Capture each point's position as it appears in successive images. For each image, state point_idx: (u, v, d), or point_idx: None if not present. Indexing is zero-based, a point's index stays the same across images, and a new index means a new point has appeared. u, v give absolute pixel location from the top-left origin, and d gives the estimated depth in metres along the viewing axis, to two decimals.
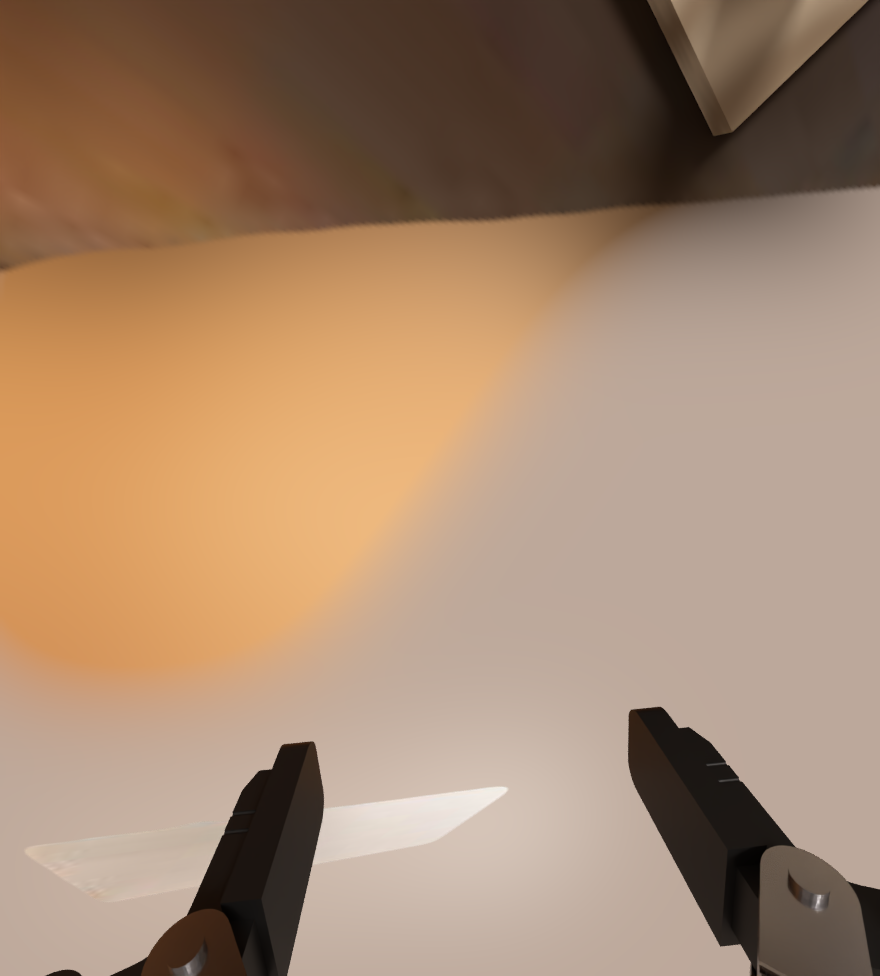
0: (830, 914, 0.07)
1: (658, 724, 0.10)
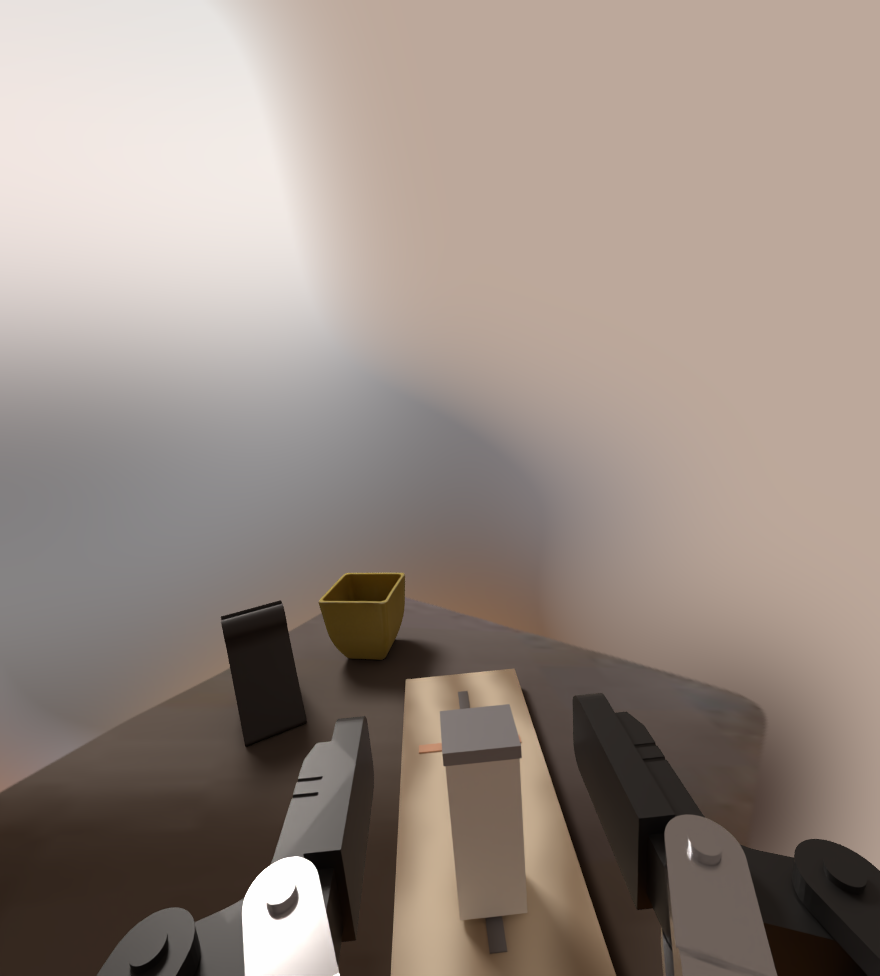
0: (718, 873, 0.07)
1: (596, 708, 0.11)
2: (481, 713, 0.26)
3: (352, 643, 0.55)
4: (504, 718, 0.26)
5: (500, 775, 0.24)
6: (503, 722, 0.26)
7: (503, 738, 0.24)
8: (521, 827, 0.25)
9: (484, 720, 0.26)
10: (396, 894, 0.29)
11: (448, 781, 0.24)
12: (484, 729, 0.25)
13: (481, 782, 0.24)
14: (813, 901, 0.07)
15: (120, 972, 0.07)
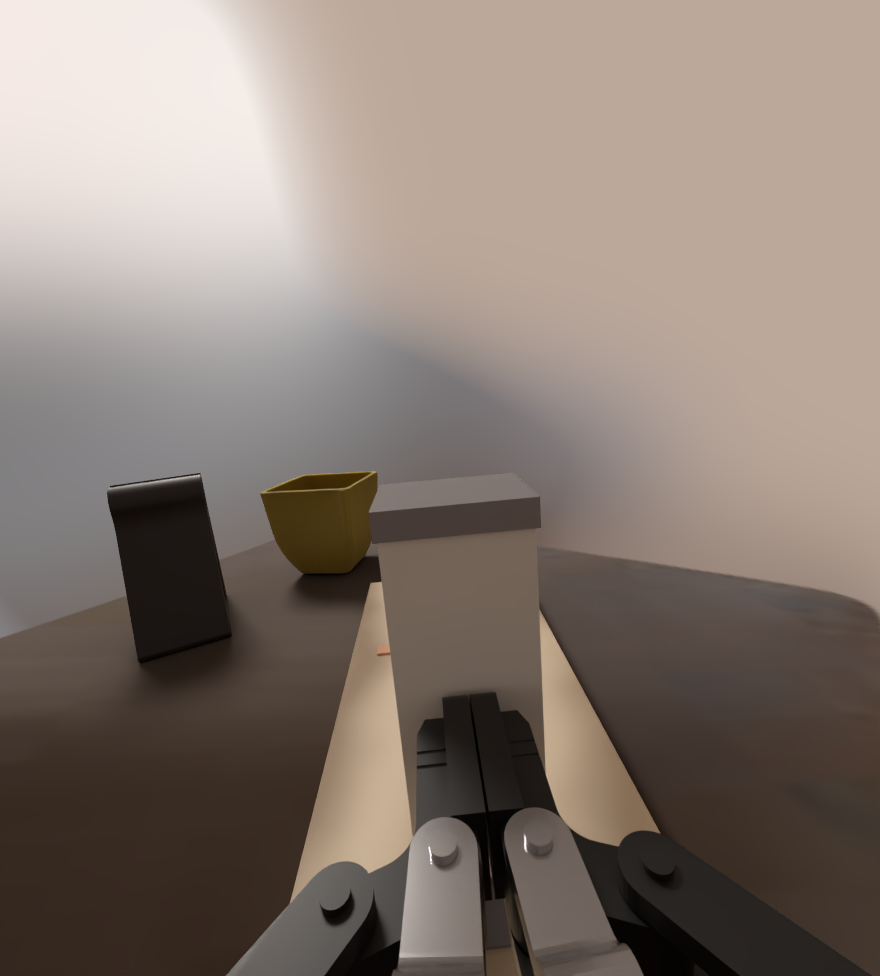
0: (543, 862, 0.08)
1: (484, 707, 0.11)
2: (458, 481, 0.14)
3: (305, 550, 0.43)
4: (503, 481, 0.13)
5: (495, 570, 0.12)
6: (501, 483, 0.13)
7: (501, 494, 0.12)
8: (539, 690, 0.12)
9: (463, 485, 0.13)
10: (307, 844, 0.16)
11: (385, 582, 0.11)
12: (463, 490, 0.12)
13: (456, 587, 0.12)
14: (641, 905, 0.07)
15: (312, 904, 0.07)
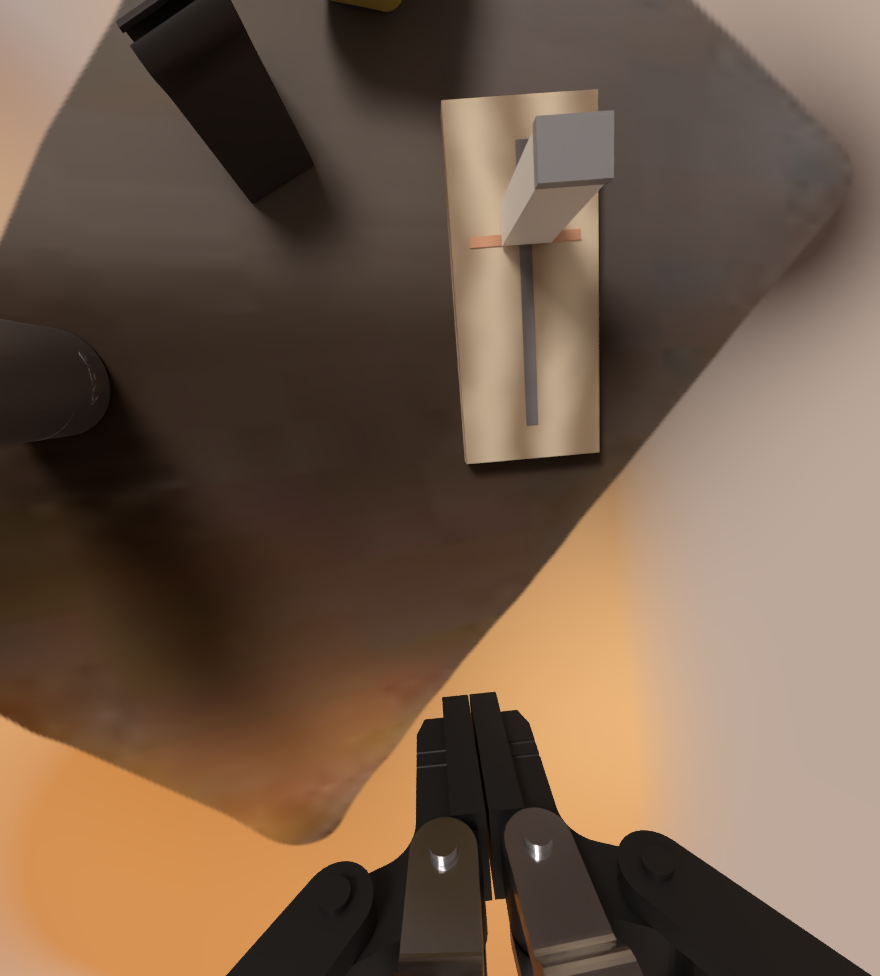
0: (543, 862, 0.08)
1: (484, 706, 0.11)
2: (581, 124, 0.24)
3: None
4: (604, 135, 0.24)
5: (581, 191, 0.27)
6: (602, 141, 0.24)
7: (598, 166, 0.25)
8: (576, 213, 0.30)
9: (583, 136, 0.24)
10: (462, 389, 0.39)
11: (533, 195, 0.26)
12: (582, 151, 0.24)
13: (561, 195, 0.27)
14: (641, 904, 0.07)
15: (312, 904, 0.07)
